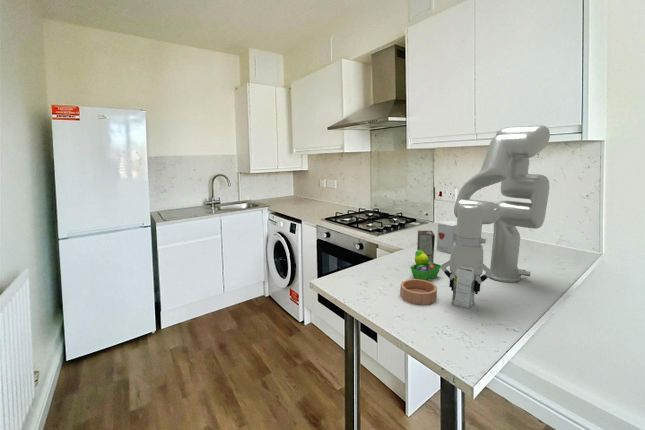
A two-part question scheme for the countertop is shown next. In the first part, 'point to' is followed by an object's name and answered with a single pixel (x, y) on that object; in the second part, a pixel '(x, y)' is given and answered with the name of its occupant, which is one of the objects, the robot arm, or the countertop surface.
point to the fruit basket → (424, 267)
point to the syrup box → (464, 287)
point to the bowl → (418, 291)
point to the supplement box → (446, 235)
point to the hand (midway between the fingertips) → (464, 290)
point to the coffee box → (426, 243)
